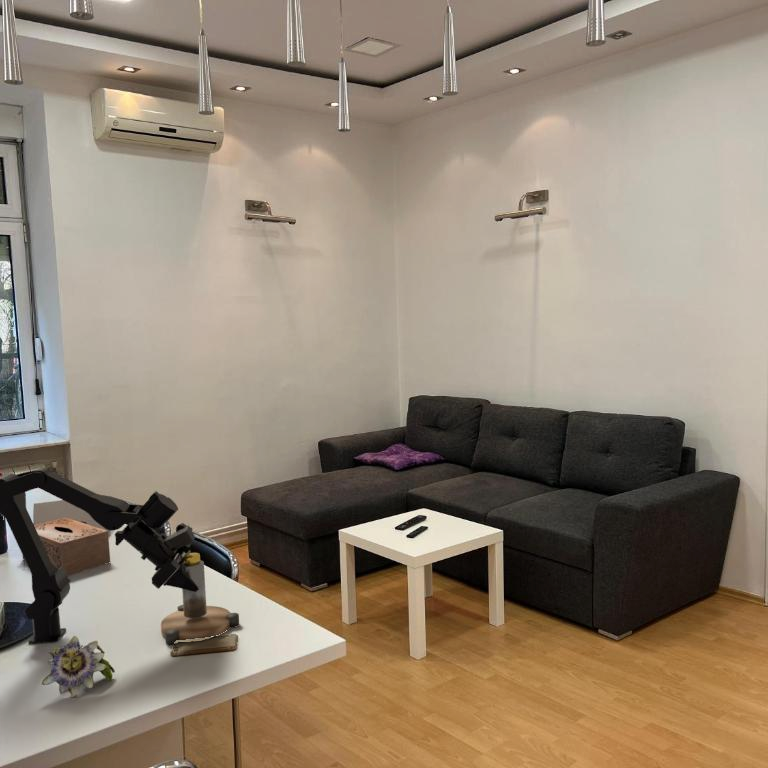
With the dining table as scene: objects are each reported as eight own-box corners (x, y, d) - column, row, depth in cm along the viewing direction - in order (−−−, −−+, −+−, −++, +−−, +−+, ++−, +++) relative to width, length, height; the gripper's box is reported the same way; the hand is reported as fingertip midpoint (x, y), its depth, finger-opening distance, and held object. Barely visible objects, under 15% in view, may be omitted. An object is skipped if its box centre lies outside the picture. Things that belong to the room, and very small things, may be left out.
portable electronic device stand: (35, 566, 248) (32, 545, 244) (35, 519, 266) (32, 498, 262) (111, 555, 257) (109, 534, 252) (106, 510, 275) (104, 490, 270)
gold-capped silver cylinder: (197, 619, 177) (193, 560, 176) (179, 616, 180) (175, 557, 178) (211, 610, 182) (207, 553, 181) (193, 607, 184) (190, 550, 183)
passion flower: (77, 721, 152) (34, 687, 146) (74, 687, 161) (34, 654, 156) (125, 682, 154) (84, 647, 148) (119, 651, 163) (81, 616, 158)
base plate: (234, 640, 173) (234, 630, 173) (153, 646, 172) (153, 635, 172) (243, 610, 191) (242, 600, 190) (169, 614, 189) (169, 605, 189)
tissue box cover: (22, 560, 237) (20, 528, 236) (68, 547, 247) (65, 517, 246) (63, 577, 220) (60, 543, 219) (110, 563, 231) (108, 530, 230)
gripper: (163, 528, 169) (217, 574, 171) (179, 506, 187) (228, 548, 189) (128, 565, 169) (183, 611, 171) (148, 539, 188) (197, 581, 190)
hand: (199, 585), depth 180 cm, fingers closed on gold-capped silver cylinder, 5 cm apart
